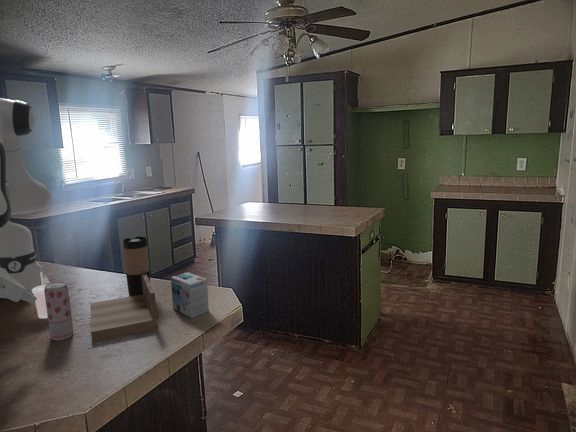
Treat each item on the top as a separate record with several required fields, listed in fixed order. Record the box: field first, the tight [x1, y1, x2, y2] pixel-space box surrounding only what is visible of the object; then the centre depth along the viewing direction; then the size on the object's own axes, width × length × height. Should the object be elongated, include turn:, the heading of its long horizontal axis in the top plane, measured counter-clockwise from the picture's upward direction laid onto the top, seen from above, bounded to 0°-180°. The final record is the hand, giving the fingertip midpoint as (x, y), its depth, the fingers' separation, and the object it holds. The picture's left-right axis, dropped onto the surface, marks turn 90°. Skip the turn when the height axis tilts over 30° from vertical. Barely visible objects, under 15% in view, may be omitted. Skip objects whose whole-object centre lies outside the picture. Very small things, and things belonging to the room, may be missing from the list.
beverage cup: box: [32, 271, 48, 319], centre depth 129 cm, size 6×6×14 cm
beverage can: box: [44, 281, 74, 341], centre depth 115 cm, size 6×6×15 cm
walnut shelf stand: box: [89, 271, 159, 343], centre depth 125 cm, size 22×17×11 cm
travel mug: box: [122, 236, 151, 297], centre depth 144 cm, size 8×8×20 cm
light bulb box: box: [170, 271, 209, 318], centre depth 131 cm, size 11×7×11 cm, turn 47°
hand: (29, 295), depth 109 cm, fingers open, 8 cm apart
